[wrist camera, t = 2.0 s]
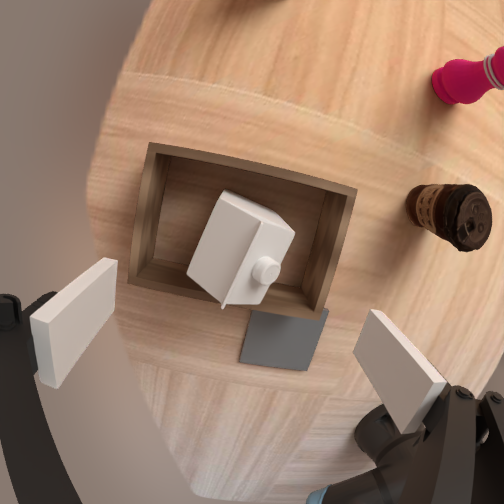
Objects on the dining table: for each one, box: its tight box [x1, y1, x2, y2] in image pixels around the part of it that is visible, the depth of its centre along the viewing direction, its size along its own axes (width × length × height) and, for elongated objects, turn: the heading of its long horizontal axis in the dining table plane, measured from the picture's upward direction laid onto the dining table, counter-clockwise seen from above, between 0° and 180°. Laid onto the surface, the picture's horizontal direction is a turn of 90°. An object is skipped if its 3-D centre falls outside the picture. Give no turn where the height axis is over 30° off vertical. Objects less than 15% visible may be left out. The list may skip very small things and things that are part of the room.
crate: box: [128, 142, 358, 321], centre depth 37 cm, size 16×23×8 cm
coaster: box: [239, 308, 329, 371], centre depth 45 cm, size 11×11×1 cm
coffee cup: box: [406, 184, 492, 252], centre depth 35 cm, size 9×8×13 cm
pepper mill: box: [432, 46, 504, 104], centre depth 27 cm, size 7×7×20 cm
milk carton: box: [187, 189, 295, 309], centre depth 31 cm, size 7×7×19 cm
